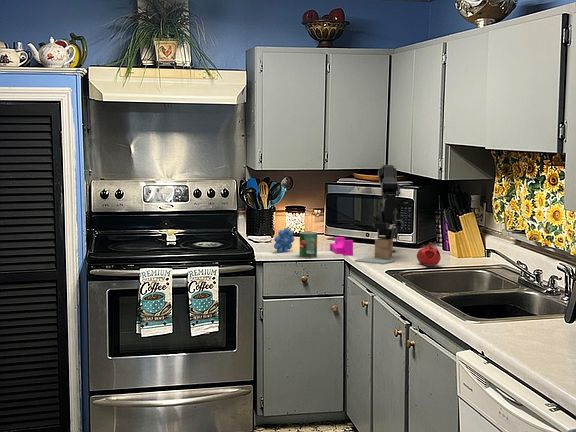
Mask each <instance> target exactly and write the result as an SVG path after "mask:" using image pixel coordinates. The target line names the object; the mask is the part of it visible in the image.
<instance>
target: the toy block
mask: <svg viewBox="0 0 576 432" xmlns="http://www.w3.org/2000/svg"><path fill="white" fill-rule="evenodd" d="M329 251H331V252H332V253H334V254H336V255H343V256H345V257H349V256H354V240H353V239H346V238H345V237H343V236H335V237H334V243H329Z"/></svg>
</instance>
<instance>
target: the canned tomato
mask: <svg viewBox="0 0 576 432" xmlns="http://www.w3.org/2000/svg"><path fill="white" fill-rule="evenodd" d="M298 257H299V258H301V259H303V258H304V259H317V257H318V232H315V231H301V232H299V256H298Z"/></svg>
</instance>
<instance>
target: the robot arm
mask: <svg viewBox="0 0 576 432" xmlns="http://www.w3.org/2000/svg"><path fill="white" fill-rule="evenodd" d="M377 179H378V180H379V185H380V192H381V197H382V210H381V211H380V214H375V213H373V214H370V216H369V222H370V223H371V225H373V229H377V239H393V240H396V239H398V230H399V228H398V227H401V228H403V227H405V222H404V220H402V219H397V214H398V213H399V211H398V210H397V206H398V205H399V204H398V203H399V202H398V200H397V198H396V197H400V195H401V185H400V183H399V182H398V180H397V168H395V167H394V165H393V164H384V165H382V166H381V167H380V168H378V171H377ZM393 247H394V245H392V253H393V252H396V251H397V250H395V249H393Z"/></svg>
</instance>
